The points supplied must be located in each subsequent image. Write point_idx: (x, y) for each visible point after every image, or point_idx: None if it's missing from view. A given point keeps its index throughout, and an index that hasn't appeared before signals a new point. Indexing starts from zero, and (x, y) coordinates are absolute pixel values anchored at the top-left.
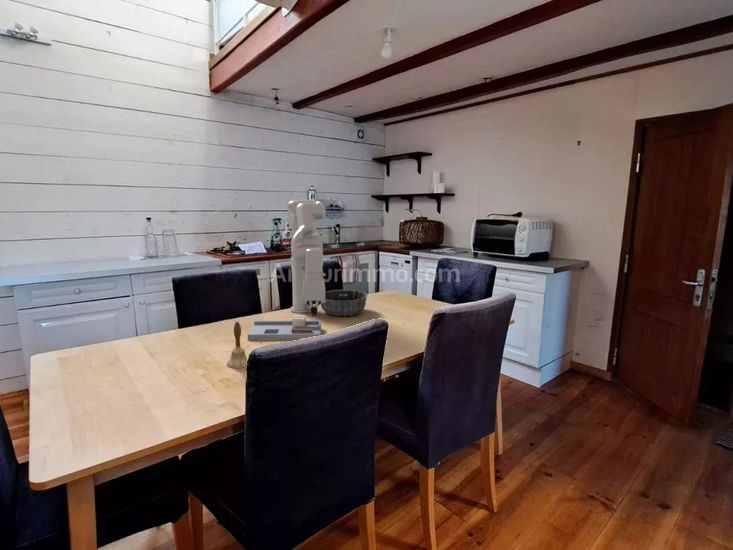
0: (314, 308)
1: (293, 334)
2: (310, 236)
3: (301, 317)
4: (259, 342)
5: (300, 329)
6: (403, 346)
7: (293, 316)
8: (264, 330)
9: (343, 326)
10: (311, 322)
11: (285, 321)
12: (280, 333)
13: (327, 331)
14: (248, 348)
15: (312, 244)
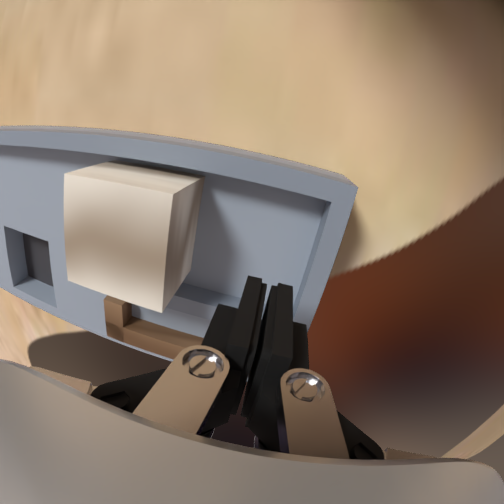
0: (246, 414)
1: (129, 345)
2: None
3: (131, 260)
4: (30, 304)
5: (156, 348)
6: (492, 429)
7: (65, 207)
8: (4, 242)
9: (491, 179)
10: (257, 179)
11: (52, 148)
12: (68, 311)
13: (369, 248)
14: (25, 340)
15: None
